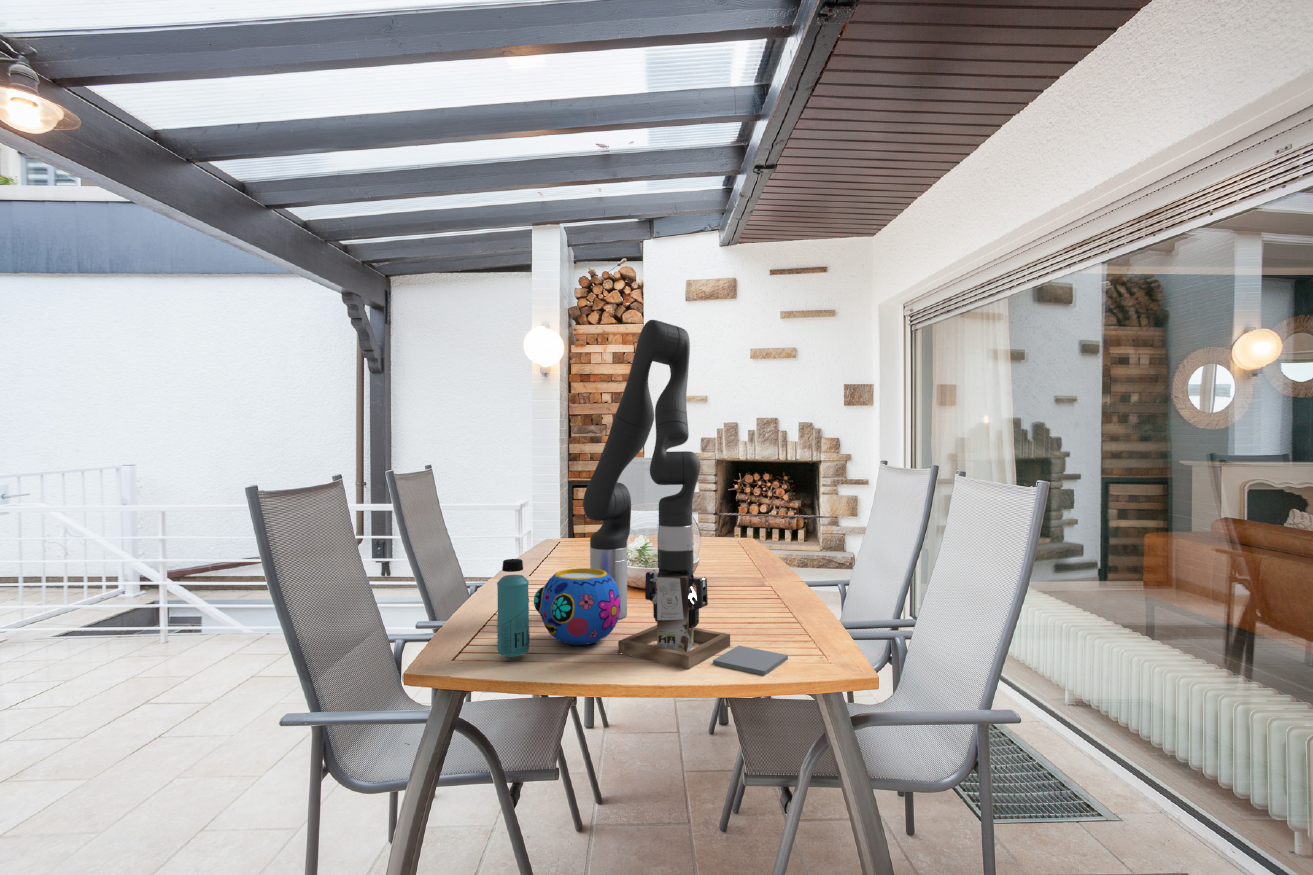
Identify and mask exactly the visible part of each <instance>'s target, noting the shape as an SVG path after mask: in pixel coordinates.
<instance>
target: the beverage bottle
mask: <svg viewBox="0 0 1313 875" xmlns="http://www.w3.org/2000/svg"><path fill="white" fill-rule="evenodd" d="M523 562H524V561H523V559H520V558H509V559H508V558H507V559H505V560H503V561H502V567H501V569H502V570H501V571H503V572H506V573H507V572H508V573H515V572H521V571H523V570H524V564H523ZM529 583H530V582H529V580H528V579H527V577H526V576H524V575H522V574H508V575H507V574H506V575H503V576H502V577H501V578H500V579H499V580H498V581H497V583H496V585H497V618H496V619H497V621H496V625H497V626H496V627H497V634H496V637H497V641H496V644H497V654H498V655H499V656H503V657H517V656H518V657H519V656H522V655H526V654H527V653H528V652H529V650H530V636H531V633H530V632H531V631H530V630H531V628H530V626H529V625H530V618H529V617H530V616H529V614H530V611H529V610H530V595H529Z"/></svg>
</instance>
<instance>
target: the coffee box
mask: <svg viewBox="0 0 1313 875" xmlns="http://www.w3.org/2000/svg"><path fill="white" fill-rule="evenodd" d="M691 587H692V588H693V589H694V584H693V585H692V586H691ZM656 592H657V622H656V623H657V624H656V625H657V640H656V646H657V647H662V648H667V649H672V650H676V651H681V652H688V651H690V650H692V649H691V648H692V647H693V646H694V641H693V628H689V610H690V608H689V599H688V597H689V594H691V588H690V586H689V576H685V575H680V574H666V573H661V574H660V575H659V576H658V577H657V581H656Z"/></svg>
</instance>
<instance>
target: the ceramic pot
mask: <svg viewBox="0 0 1313 875" xmlns="http://www.w3.org/2000/svg"><path fill="white" fill-rule="evenodd" d="M533 605H534V608H535V611H537V613H538V614H539V615H540V617H541V620H542V622H543V625H544V627H545V629H546V630H547V632H548V633H549V635H550V636H552V637H553V638H554V639H556V640H558V641H560V642H562V643H565V644H568V645H574V646H585V645H589V644H594V643H596V642H599V641H601V640H603V639H604V638H607V637H608V636H609V635H610V634H611V633H612V632H613V631H614V628H615V627H616V625H617V623H618V621H619V614H620V606H621V599H620V594H619V590H618V587H617V585H616V583H615V581H614V579H613V578H612V577H611V576H610V575H609V574H608V573H607V572H605V571H603V570H599V569H590V567H589V568H588V567H587V568H583V567H582V568H569V569H563V570H559V571H557V572H555V573H554V574H553V575H552V576H551V577H550V578H548V580H547V582H546V583H545V584H544V586H542V587H541V588H538V589H537V590H536V592H535V594H534V597H533Z"/></svg>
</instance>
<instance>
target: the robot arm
mask: <svg viewBox="0 0 1313 875" xmlns="http://www.w3.org/2000/svg"><path fill="white" fill-rule="evenodd" d="M690 352H691V343H690V336H689V333H688V331H687V330H686V329H684V328H683V327H680V326H678V325H673V324H671V323H667V322H664V321H661V320H657V319H650V320H648V321H647V322H645V324H644V325H643V327H642V329H641V331H640V333H639V336H638V339H637V343H636V345H635V350H634V355H633V359H632V361H631V362H632V363H631V366H630V370H629V374H628V378H627V381H626V384H625V387H624V390H623V394H622V396H621V398H620V401H619V404H618V406H617V408H616V411H615V415H614V417H613V421H612V424H611V425H610V429H609V433H608V435H607V438H606V440H605V445H604V446H603V450H602V452H601V455H600V458H599V460H598V463H597V464H596V467H595V469H594V471H593V474H592V475H591V478H590V479H589V481H588V482H589V483H587V486H586V489H585V492H584V495H583V499H582V507H583V512H584V514H585V516H586V518H588V519H589V520H591V521H595V522H600V521H602V524H601V526H600V528H599V529H598V530H597V531H595V532H594V533H593V534H591V536H590V538H589V569H599V570H603V571H605V572H607V573H608V574H609V575H610V576H611V577H612V578H613V579H614V581H615V583H616V585H617V587H618V590H619V594H620V599H621V606H620V614H619V619H624V618H625V617H627V616H628V540H629V536H630V532H631V518H632V516H631V515H632V499H631V498H632V497H631V494H630V491H629V489H628V487H627V486H626V485H625V484H624V483H622V482H618V481H619V479H620V476H621V475H622V473H623V471H624V470H625V469H626V468H627V467H628V466H629V465H630V463H631V462H632V461H633V460H634V459H635V458H636V456H637V455H638V454H640V452H641V450H642V449H643V448H644V446H645V445H646V444H647V440H648V438H649V436H650V434H651V430H652V427H653V425H654V424H653V423H654V422H655V444H654V447H653V448H654V449H653V453H652V457H651V459H650V465H649V475H650V478H651V480H652V481H653V482H654V483H655V484H656V485H658V486H673V485H674V486H681V485H682V487H681V489H680V491H678V492H677V493H675V494H672V495H668V496H664V497H661V498H660V499H659V501H658V529H657V530H658V532H657V568H658V572H657V571H656V570H650V571H647V572H645V584H644V585H645V590H644V598H645V600H646V601H651V603H652V604H653V605H652V606H653V614H652V615H653V619H654V621H655V622H656V623H657V577H658V576H659V575H660V574H661V573H666V574H680V575H685V576H689V586H690V588H691V594H689V597H688V599H689V608H690V610H689V628H697V625H699V622H700V609H702V608H703V607H707V606H708V605H709V600H708V596H709V595H708V579H707V577H706V576H702V577H696V576H694V532H693V501H694V496H695V491H696V487H697V483H698V480H699V476H700V472H701V462H700V459H699V457H698V455H697V454H696V453H695V452H694V451H687V450H684V451H668V450H669V449H672V448H675V447H679V446H682V445H683V444H685V443H687V442H688V440H689V436H690V433H689V424H688V423H689V421H688V413H687V412H688V411H687V410H688V409H687V390H688V389H687V388H688V380H689V366H690V354H691V353H690ZM653 362H656V363H659V364H662V365H666V366H668V367H669V371H670V372H669V373H670V377H669V380H668V382H667V385H666V386H665V387H664V389H663V390H662V392H661V393H660V395H659V397H658V399H657V400H656V404H655V407H654V406H653V402H652V397H651V394H650V393H651V392H650V389H649V388H650V387H649V374H650V370H651V367H652V364H653ZM654 408H655V409H654ZM654 420H655V421H654ZM692 585H693V588H692V587H691V586H692ZM694 588H695V589H696V591H695V590H694ZM619 619H618V620H619Z"/></svg>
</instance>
